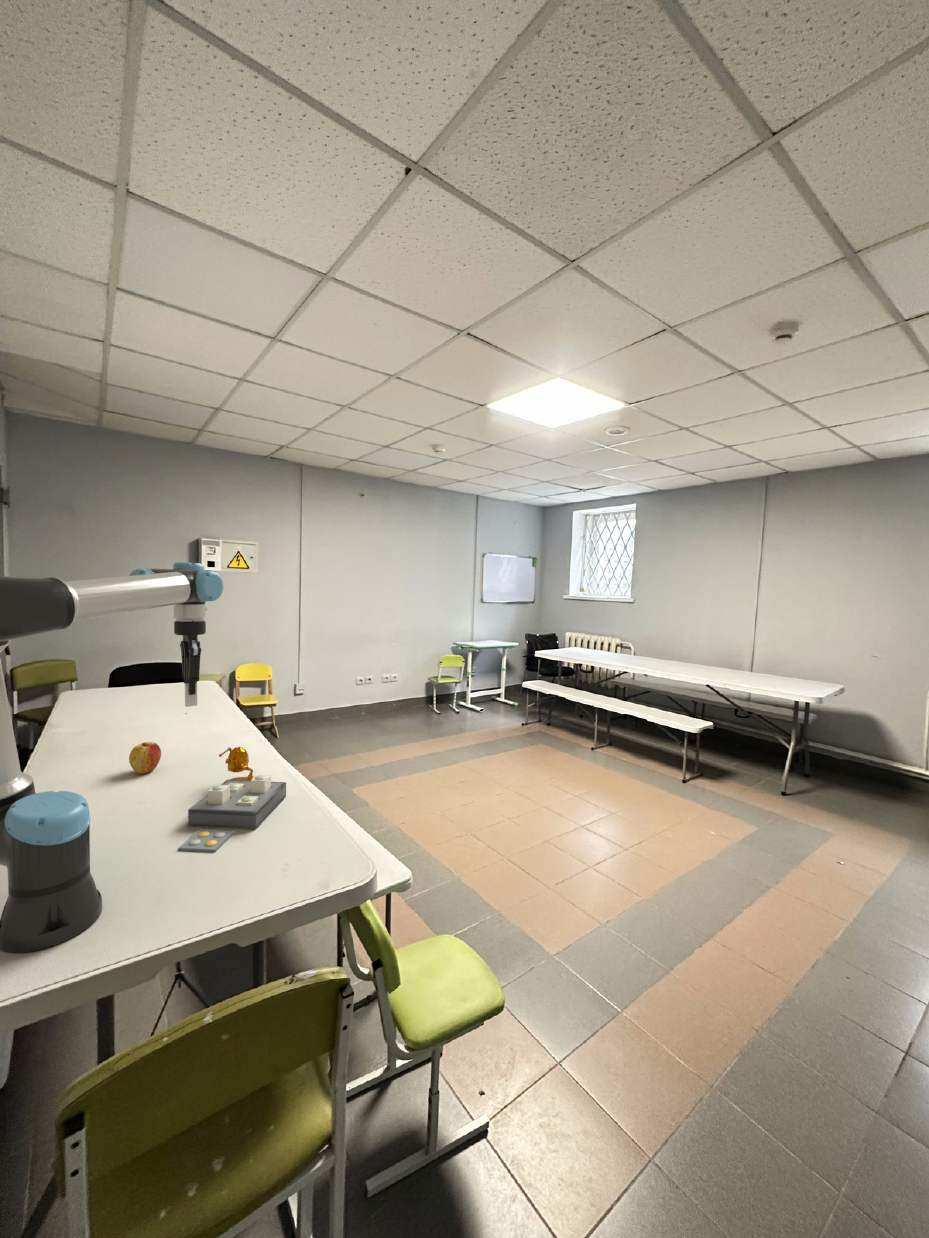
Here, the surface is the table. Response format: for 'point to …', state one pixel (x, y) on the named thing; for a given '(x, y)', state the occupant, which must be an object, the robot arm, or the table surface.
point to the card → (206, 840)
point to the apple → (145, 757)
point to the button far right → (261, 784)
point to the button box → (237, 808)
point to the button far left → (235, 787)
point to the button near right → (247, 800)
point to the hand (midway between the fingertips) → (191, 705)
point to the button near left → (219, 794)
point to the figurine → (238, 762)
